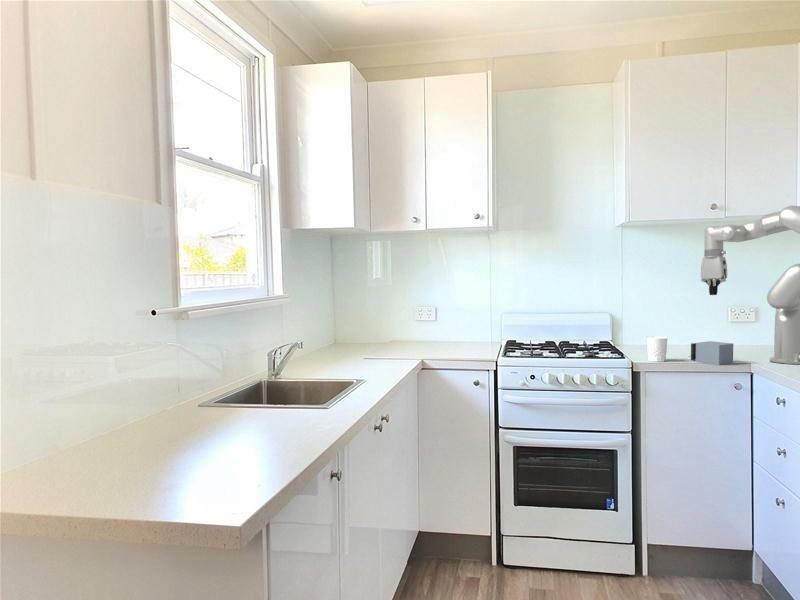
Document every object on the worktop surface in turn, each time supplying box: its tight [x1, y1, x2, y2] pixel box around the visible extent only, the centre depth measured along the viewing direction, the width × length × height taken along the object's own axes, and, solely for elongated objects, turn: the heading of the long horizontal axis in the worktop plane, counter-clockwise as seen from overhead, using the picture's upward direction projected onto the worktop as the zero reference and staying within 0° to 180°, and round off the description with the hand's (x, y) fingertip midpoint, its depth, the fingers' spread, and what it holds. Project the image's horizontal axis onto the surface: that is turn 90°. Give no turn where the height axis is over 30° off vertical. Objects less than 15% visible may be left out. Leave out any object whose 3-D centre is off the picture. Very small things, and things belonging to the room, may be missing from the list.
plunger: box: [690, 342, 697, 361], centre depth 246 cm, size 10×11×7 cm
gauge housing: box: [687, 340, 734, 366], centre depth 248 cm, size 21×14×8 cm, turn 31°
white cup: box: [646, 335, 668, 363], centre depth 248 cm, size 8×8×10 cm
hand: (713, 294), depth 264 cm, fingers closed
